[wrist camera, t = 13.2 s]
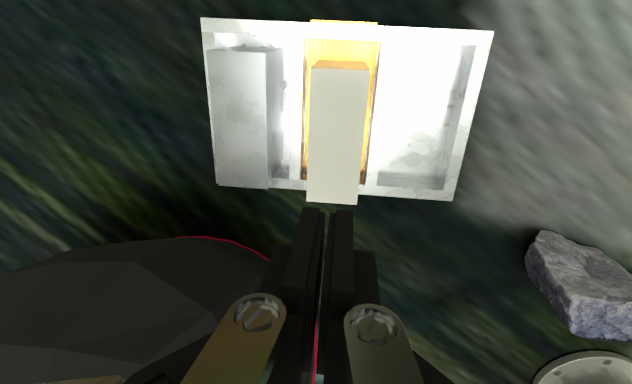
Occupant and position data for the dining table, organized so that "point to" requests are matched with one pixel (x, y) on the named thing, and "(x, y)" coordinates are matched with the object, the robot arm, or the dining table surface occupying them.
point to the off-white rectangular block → (336, 130)
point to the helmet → (120, 306)
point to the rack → (382, 107)
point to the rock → (582, 287)
